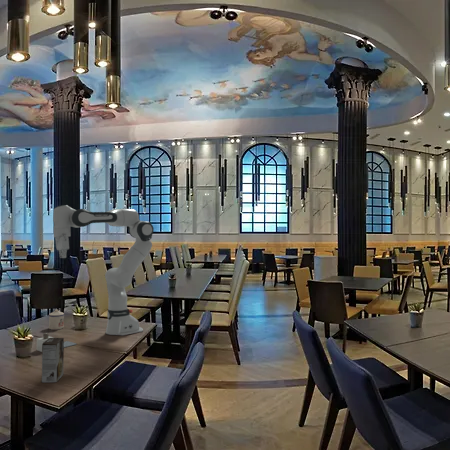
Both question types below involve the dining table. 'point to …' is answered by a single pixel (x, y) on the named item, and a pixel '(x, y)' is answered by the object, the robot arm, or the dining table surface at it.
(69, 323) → the dining table surface
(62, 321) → the teacup with lid
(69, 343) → the felt mat
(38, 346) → the perfume bottle
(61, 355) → the coffee box
